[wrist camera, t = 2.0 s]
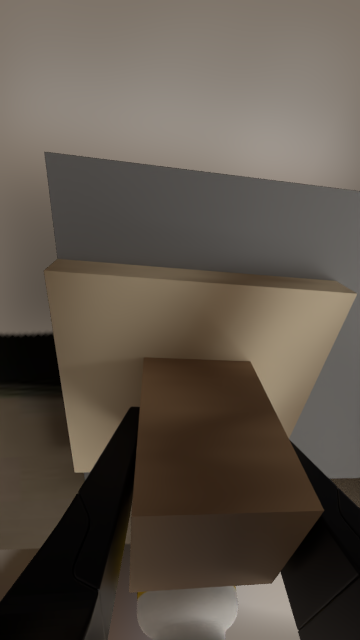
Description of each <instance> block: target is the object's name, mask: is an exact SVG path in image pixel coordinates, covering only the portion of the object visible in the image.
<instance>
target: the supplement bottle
mask: <svg viewBox="0 0 360 640" xmlns="http://www.w3.org/2000/svg"><path fill="white" fill-rule="evenodd" d="M237 612H238V600H237V594H236V587H235V586H223V587H208V588H193V589H178V590H162V591H147V592H137V619H138V622H139V625H140V628H141V630H142V631H143V632H144V634H145V635H147V636H148V637H150V638H152V639H153V640H226V638H225V633H226V630H227V629H228V628H229V627H230V626H231V625H232V624H233V623H234V621H235V619H236V616H237Z"/></svg>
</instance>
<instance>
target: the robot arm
mask: <svg viewBox="0 0 360 640" xmlns="http://www.w3.org/2000/svg"><path fill="white" fill-rule="evenodd" d="M139 413H140V407H138V406H132V407H130V408H129V409H128V411H127V413H126V414H125V416H124V417H123V419H122V421H121V422H120V424H119V426H118V427H117V429H116V431H115V432H114V434H113V436H112V437H111V439H110V440H109V442H108V444H107V445H106V447H105V449H104V450H103V452H102V454H101V455H100V457H99V458H98V460H97V462H96V463H95V465H94V467H93V468H92V470H91V472H90V473H89V475H88V477H87V478H86V480H85V481H84V483H83V485H82V486H81V488H80V490H79V492H78V493H79V494H76V496H75V498H74V499H73V501H72V503H71V504H70V506H69V507H68V509H67V511H66V512H65V514H64V515H63V517H62V518H61V520H60V521H59V523H58V524H57V526H56V527H55V529H54V530H53V531H52V533H51V534H50V536H49V537H48V538H47V540H46V541H45V543H44V544H43V545H42V547H41V548H40V549H39V551H38V552H37V553H36V555H35V556H34V557H33V559H32V560H31V562H30V563H29V564H28V565H27V567H26V568H25V570H24V571H23V572H22V573H21V575H20V576H19V577H18V579H17V580H16V581H15V583H14V584H13V586H12V587H11V588H10V590H9V591H8V592H7V593H6V595H5V596H4V598H3V599H2V600H1V601H0V640H108V634H109V628H110V623H111V617H112V612H113V606H114V600H115V594H116V589H117V584H118V578H119V572H120V567H121V561H122V556H123V550H124V545H125V539H126V533H127V528H128V522H129V517H130V511H131V505H132V500H133V491H134V478H135V465H136V452H137V439H138V426H139ZM289 440H290V439H289ZM290 442H291V444H292V446H293V448H294V450H295V452H296V454H297V456H298V458H299V461H300V463H301V465H302V467H303V469H304V471H305V473H306V475H307V477H308V479H309V481H310V483H311V485H312V487H313V489H314V491H315V493H316V495H317V497H318V499H319V501H320V503H321V505H322V507H323V509H324V512H323V513H322V514H321V516H320V517H319V519H318V520H317V521H316V523H315V524H314V526H313V527H312V528H311V530H310V531H309V532H308V534H307V535H306V537H305V538H304V539H303V541H302V542H301V544H300V545H299V546H298V548H297V549H296V551H295V552H294V553H293V555H292V556H291V557H290V559H289V560H288V562H287V563H286V564H285V566H284V567H283V569H282V570H281V571H280V572H281V575H282V578H283V582H284V585H285V588H286V592H287V595H288V598H289V602H290V606H291V609H292V612H293V616H294V619H295V622H296V626H297V629H298V630H299V631H298V633H299V636H300V640H360V508H359V507H358V506H357V505H356V504H355V503H354V502H353V501H351V500H350V499H349V498H348V497H347V496H346V495H345V494H344V493H343V492H342V491H341V490H340V489H339V488H337V486H336V485H335V484H334V483H333V482H332V481H331V480H330V479H329V478H328V477H327V476H326V475H325V474H324V473H323V472H322V471H321V470H320V469H319V468H318V467H317V466H316V465H315V464H314V463H313V462H312V461H311V460H310V459H309V458H308V457H307V456H306V455H305V454H304V453H303V452H302V451H301V450H300V449H299V448H298V447H297V446H296V445H295V444H294V443H293V442H292V441H291V440H290Z"/></svg>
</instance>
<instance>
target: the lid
mask: <svg viewBox="0 0 360 640" xmlns="http://www.w3.org/2000/svg"><path fill="white" fill-rule="evenodd" d="M44 275H45V281H46V288H47V295H48V301H49V308H50V314H51V321H52V327H53V334H54V341H55V347H56V354H57V360H58V367H59V373H60V380H61V386H62V393H63V399H64V406H65V412H66V419H67V425H68V432H69V438H70V445H71V451H72V458H73V465H74V471H75V473H80V472H91V470H92V468H93V467H94V465H95V463H96V462H97V460H98V458H99V457H100V455H101V454H102V452H103V450H104V449H105V447H106V445H107V444H108V442H109V440H110V439H111V437H112V436H113V434H114V432H115V431H116V429H117V427H118V426H119V424H120V422H121V421H122V419H123V417H124V416H125V414H126V413H127V411H128V409H129V408H130V407H132V406H138V407H140V413H139V426H138V439H137V452H136V465H135V478H134V491H133V504H132V516H131V550H130V583H129V592H130V593H131V592H147V591H162V590H178V589H193V588H208V587H223V586H237V585H238V586H239V585H254V584H269V583H272V582H273V581H274V580H275V578H276V577H277V576H278V574H279V573H280V571H281V570H282V569H283V567H284V566H285V564H286V563H287V562H288V560H289V559H290V557H291V556H292V555H293V553H294V552H295V551H296V549H297V548H298V546H299V545H300V544H301V542H302V541H303V539H304V538H305V537H306V535H307V534H308V532H309V531H310V530H311V528H312V527H313V526H314V524H315V523H316V521H317V520H318V519H319V517H320V516H321V514H322V513H323V512H324V509H323V507H322V505H321V503H320V501H319V499H318V497H317V495H316V493H315V491H314V489H313V487H312V485H311V483H310V481H309V479H308V477H307V475H306V473H305V471H304V469H303V467H302V465H301V463H300V461H299V458H298V456H297V454H296V452H295V450H294V448H293V446H292V444H291V442H290V440H289V437H290V435H291V433H292V431H293V429H294V427H295V425H296V423H297V421H298V418H299V416H300V414H301V412H302V410H303V408H304V406H305V404H306V401H307V399H308V397H309V395H310V393H311V391H312V389H313V387H314V385H315V382H316V380H317V378H318V376H319V374H320V372H321V370H322V368H323V365H324V363H325V361H326V359H327V357H328V355H329V353H330V351H331V349H332V346H333V344H334V342H335V340H336V338H337V336H338V334H339V332H340V329H341V327H342V325H343V323H344V321H345V319H346V317H347V315H348V312H349V310H350V308H351V306H352V304H353V302H354V300H355V298H356V296H357V293H355V292H354V291H352V290H350V289H349V288H347V287H345V286H344V285H342V284H340V283H339V282H337V281H330V280H318V279H305V278H293V277H280V276H267V275H255V274H242V273H230V272H217V271H204V270H192V269H179V268H166V267H154V266H141V265H129V264H116V263H103V262H91V261H78V260H66V259H57V260H56V261H55V262H53V263H52V264H51V265H50V266H49V267H47V268H46V269H45V270H44Z"/></svg>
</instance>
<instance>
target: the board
mask: <svg viewBox="0 0 360 640" xmlns="http://www.w3.org/2000/svg"><path fill="white" fill-rule="evenodd" d="M45 161H46V169H47V177H48V185H49V193H50V202H51V210H52V218H53V226H54V234H55V242H56V250H57V258H58V259H66V260H78V261H91V262H103V263H116V264H129V265H141V266H154V267H166V268H179V269H192V270H204V271H217V272H230V273H242V274H255V275H267V276H280V277H293V278H305V279H318V280H330V281H337V282H339V283H340V284H342V285H344V286H345V287H347V288H349V289H350V290H352V291H354V292H355V293H357V296H356V298H355V300H354V302H353V304H352V306H351V308H350V310H349V312H348V315H347V317H346V319H345V321H344V323H343V325H342V327H341V329H340V332H339V334H338V336H337V338H336V340H335V342H334V344H333V346H332V349H331V351H330V353H329V355H328V357H327V359H326V361H325V363H324V365H323V368H322V370H321V372H320V374H319V376H318V378H317V380H316V382H315V385H314V387H313V389H312V391H311V393H310V395H309V397H308V399H307V401H306V404H305V406H304V408H303V410H302V412H301V414H300V416H299V418H298V421H297V423H296V425H295V427H294V429H293V431H292V433H291V435H290V437H289V439H290V440H291V441H292V442H293V443H294V444H295V445H296V446H297V447H298V448H299V449H300V450H301V451H302V452H303V453H304V454H305V455H306V456H307V457H308V458H309V459H310V460H311V461H312V462H313V463H314V464H315V465H316V466H317V467H318V468H319V469H320V470H321V471H322V472H323V473H324V474H325V475H326V476H327V477H328V478H360V191H355V190H347V189H339V188H331V187H323V186H315V185H306V184H299V183H291V182H283V181H275V180H267V179H259V178H250V177H242V176H235V175H227V174H219V173H210V172H203V171H194V170H187V169H179V168H171V167H163V166H154V165H146V164H139V163H131V162H123V161H114V160H107V159H99V158H90V157H82V156H75V155H66V154H59V153H50V152H45ZM89 473H90V472H84V477H85V480H86V478H87V477H88V475H89Z"/></svg>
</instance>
